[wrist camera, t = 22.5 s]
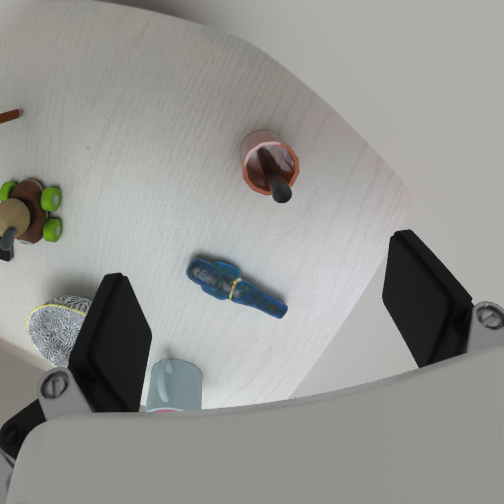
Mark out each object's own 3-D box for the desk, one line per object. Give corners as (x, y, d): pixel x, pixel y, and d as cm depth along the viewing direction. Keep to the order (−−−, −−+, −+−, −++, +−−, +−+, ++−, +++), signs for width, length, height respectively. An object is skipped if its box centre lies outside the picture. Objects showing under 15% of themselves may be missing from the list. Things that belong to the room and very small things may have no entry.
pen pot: (237, 133, 33) (239, 145, 27) (283, 127, 33) (296, 138, 27) (243, 176, 35) (246, 198, 29) (287, 171, 35) (300, 191, 29)
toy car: (14, 230, 36) (-27, 272, 26) (9, 173, 32) (-41, 207, 22) (63, 239, 38) (26, 288, 28) (61, 179, 33) (14, 216, 24)
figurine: (289, 292, 45) (197, 243, 41) (297, 302, 42) (198, 250, 37) (272, 319, 46) (180, 274, 41) (279, 330, 42) (180, 283, 38)
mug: (205, 388, 55) (205, 433, 47) (159, 388, 55) (153, 432, 46) (193, 340, 48) (189, 391, 40) (138, 341, 48) (127, 390, 39)
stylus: (256, 149, 33) (271, 186, 22) (269, 147, 33) (291, 184, 22) (257, 161, 34) (273, 204, 23) (270, 159, 34) (292, 202, 23)
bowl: (152, 316, 45) (144, 353, 39) (106, 359, 50) (96, 392, 44) (67, 253, 39) (45, 284, 32) (34, 310, 44) (16, 340, 37)
